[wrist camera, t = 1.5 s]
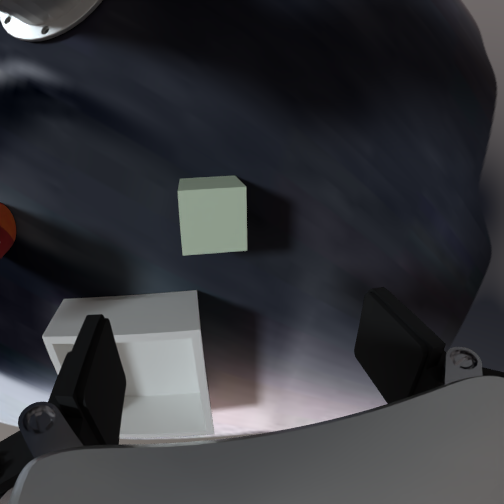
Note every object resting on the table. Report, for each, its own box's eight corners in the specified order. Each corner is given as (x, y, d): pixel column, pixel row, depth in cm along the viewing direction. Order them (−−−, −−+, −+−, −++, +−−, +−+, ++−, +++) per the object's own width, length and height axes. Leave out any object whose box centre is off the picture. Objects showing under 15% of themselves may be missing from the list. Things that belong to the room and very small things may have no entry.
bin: (64, 298, 30) (41, 336, 24) (196, 290, 32) (200, 329, 26) (98, 396, 35) (89, 437, 29) (208, 391, 38) (214, 434, 31)
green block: (179, 178, 28) (177, 191, 23) (235, 175, 29) (246, 186, 24) (183, 231, 30) (182, 255, 25) (236, 227, 31) (247, 250, 25)
